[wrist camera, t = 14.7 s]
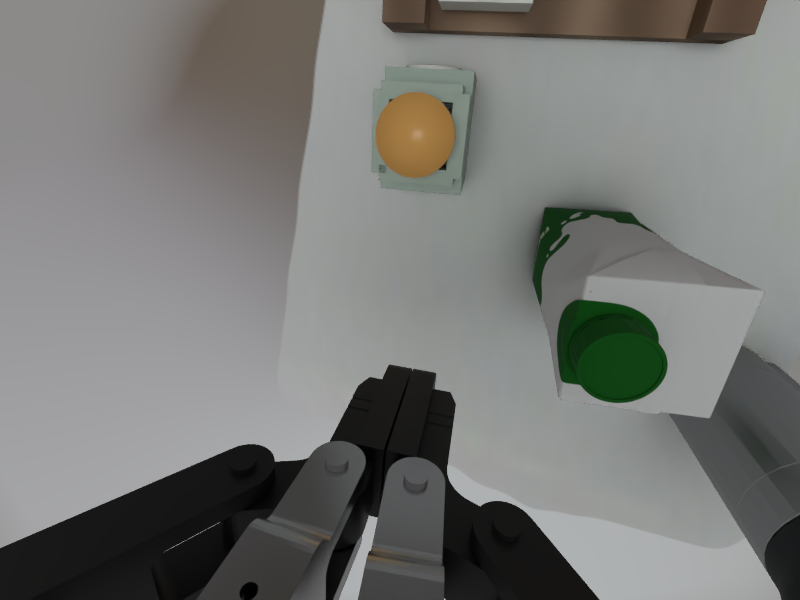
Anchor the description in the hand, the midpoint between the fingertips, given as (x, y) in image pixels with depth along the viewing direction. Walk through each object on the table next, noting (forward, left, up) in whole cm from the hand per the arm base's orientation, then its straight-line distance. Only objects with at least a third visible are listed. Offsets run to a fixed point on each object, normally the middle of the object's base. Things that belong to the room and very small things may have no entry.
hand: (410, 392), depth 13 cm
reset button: (+3, -7, -20) cm, 21 cm away
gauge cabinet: (+3, -7, -28) cm, 28 cm away
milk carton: (-11, +2, -28) cm, 30 cm away
